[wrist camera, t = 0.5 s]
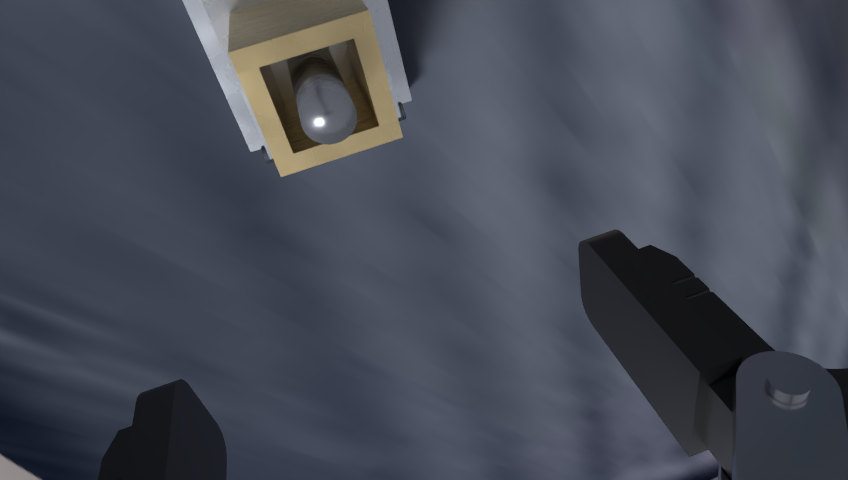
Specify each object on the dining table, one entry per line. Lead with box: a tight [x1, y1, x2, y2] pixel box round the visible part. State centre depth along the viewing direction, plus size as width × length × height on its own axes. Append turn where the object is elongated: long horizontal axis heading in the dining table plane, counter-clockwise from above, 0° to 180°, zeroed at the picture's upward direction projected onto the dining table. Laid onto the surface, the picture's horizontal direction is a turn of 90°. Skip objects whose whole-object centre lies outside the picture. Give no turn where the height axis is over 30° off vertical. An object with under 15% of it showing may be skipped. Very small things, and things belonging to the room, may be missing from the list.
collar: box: [228, 0, 403, 177], centre depth 25 cm, size 5×5×6 cm
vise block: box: [182, 0, 412, 163], centre depth 26 cm, size 12×10×14 cm
